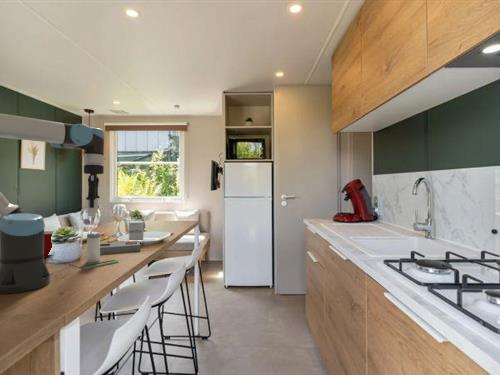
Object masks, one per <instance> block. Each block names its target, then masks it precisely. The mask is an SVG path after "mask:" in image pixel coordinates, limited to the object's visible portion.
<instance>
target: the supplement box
mask: <svg viewBox="0 0 500 375" xmlns="http://www.w3.org/2000/svg"><path fill="white" fill-rule="evenodd" d="M144 222H145V221H144V220H132V221H129V224H128V241H129V240H143V241H144V225H145V223H144Z"/></svg>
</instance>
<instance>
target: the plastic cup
mask: <svg viewBox="0 0 500 375" xmlns="http://www.w3.org/2000/svg"><path fill="white" fill-rule="evenodd" d="M54 231H55V230H53V231H51V230H50V231H49V230H47V231H46V230H44V260H45V259H48V258H47V257H48V254H49V252H50V250H51V248H52V243H51V236H52V233H53V232H54Z"/></svg>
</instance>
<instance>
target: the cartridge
mask: <svg viewBox="0 0 500 375" xmlns="http://www.w3.org/2000/svg"><path fill="white" fill-rule="evenodd" d="M100 243H101V233H100V232H92V233H91V232H90V233H87V234H86V263H91V264H92V263H93V264H94V263H99V262H100V261H101V254H100Z"/></svg>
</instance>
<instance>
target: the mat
mask: <svg viewBox="0 0 500 375" xmlns="http://www.w3.org/2000/svg"><path fill="white" fill-rule="evenodd" d="M117 263H119V261H118V260H116V259H112V260H108V261H102V262H96V263H93V264H92V263H91V264H88V265H83V266H76V265H73V264H71V263H69V265H70V266H72V267H75V268H79V269H80V270H83V271H84V270H89V269H94V268H98V267H104V266H109V265H113V264H117Z"/></svg>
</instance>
